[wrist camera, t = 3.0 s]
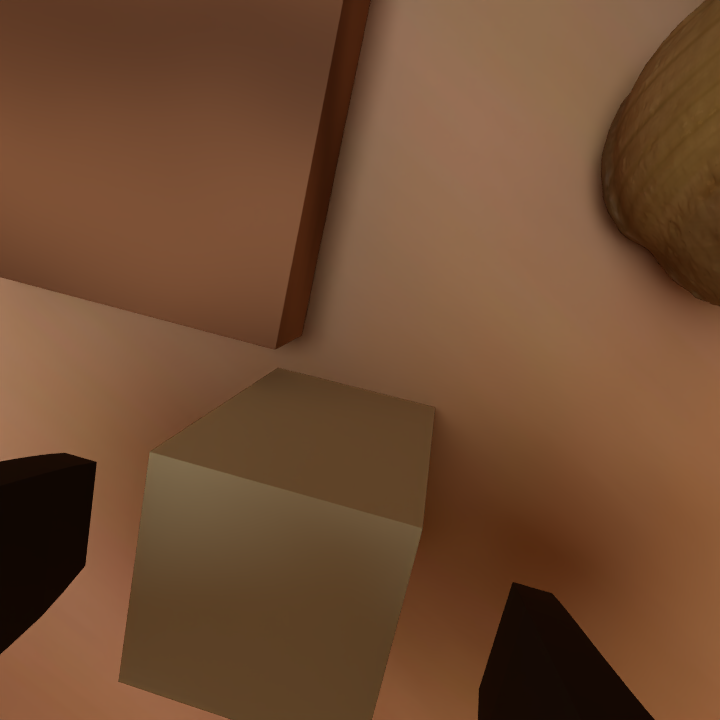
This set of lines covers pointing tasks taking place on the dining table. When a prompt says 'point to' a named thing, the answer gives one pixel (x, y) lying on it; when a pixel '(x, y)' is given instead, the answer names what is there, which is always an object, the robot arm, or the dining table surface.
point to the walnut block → (174, 153)
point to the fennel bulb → (672, 156)
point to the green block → (278, 551)
